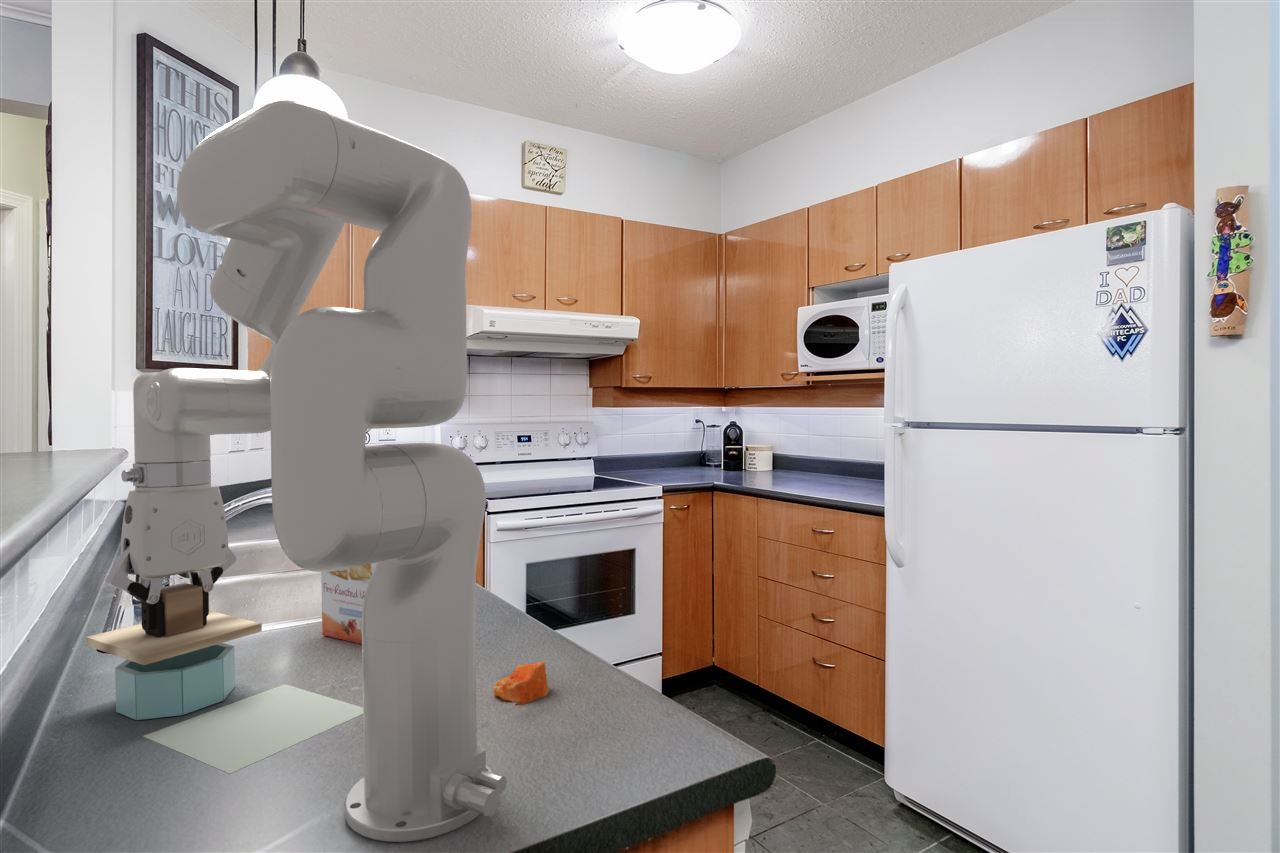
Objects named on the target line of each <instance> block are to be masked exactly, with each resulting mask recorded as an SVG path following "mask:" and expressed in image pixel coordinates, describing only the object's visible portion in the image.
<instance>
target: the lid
mask: <svg viewBox="0 0 1280 853" xmlns="http://www.w3.org/2000/svg"><path fill="white" fill-rule="evenodd" d="M160 602H163V603H164V619H165V634H164V636H162V637H155V636H151V635H148V634H146V633H145V630H143V628H142V623H138V624H134V625H130V626H126V627H122V628H118V629H113V630H109V631H105V632H101V633H96V634H91V635H89V636H86V637H85V646H87V647H90V648H92V649H95V650H98V651H101V652H104V653H107V654H110V655H113V656H115V657H119V658H122V659H125V660H130V661H133V662H136V663H139V664H142V665H146V664H150V663H153V662H157V661H160V660H164V659H167V658H171V657H174V656H178V655H181V654H185V653H188V652H192V651H195V650H199V649H202V648H206V647H209V646H213V645H216V644H220V643H227V642H229V641H234V640H236V639H240V638H244V637H246V636H250V635H255V634H258V633H261V632H262V631H263V628H262V626H263V624H262V623H261V622H257V621H253V620H248V619H245V618H241V617H237V616H234V615H233V616H232V615H228V614H224V613H220V612H216V611H212V610H209V614H208V616H207V624H206V625H204V626H203V592H202V587H201V586H197V585H192V584H191V583H188V582H182V583H177V584H172V585H168V586H162V587H161V592H160Z"/></svg>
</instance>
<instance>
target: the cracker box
mask: <svg viewBox="0 0 1280 853" xmlns="http://www.w3.org/2000/svg"><path fill="white" fill-rule="evenodd" d="M377 563H378V562H375V563H371V564H366V565H362V566H358V567H353V568H349V569H344V570H338V571H332V572H320V576H321V577H320V578H321V579H320V581H321V582H320V584H321V626H322V627H321V629H322V636H325V637H330V638H335V639H339V640H342V641H343V640H344V641H348V642H352V643H356V644H361V645H362V609H363V602H364V597H365V593H366V589H367V586H368V584H369V581H370V578H371V576H372V574H373V571H374V569H375V567H376V565H377Z"/></svg>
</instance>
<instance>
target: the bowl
mask: <svg viewBox="0 0 1280 853" xmlns="http://www.w3.org/2000/svg"><path fill="white" fill-rule="evenodd" d="M235 657H236V656H235V646H234V645H232V644H228V643H226V642H223V643H220V644H216V645H213V646H209V647H206V648H202V649H199V650H195V651H192V652H188V653H185V654H181V655H178V656H174V657H171V658H167V659H164V660H160V661H157V662H153V663H150V664H146V665H142V664H139V663H136V662H133V661H130V660H127V659H125V660H124V661H122V662H121V663H120V664H118V665H117V666H116V667H115V668H114V670H115V671H114V675H115V676H114V678H115V681H114V682H115V712H116V713H118V714H120V715H123V716H125V717H127V718H130V719H133V720H136V721H139V720H150V719H159V718H167V717H176V716H177V717H178V716H183V715H186V714H190V713H193V712H196V711H198V710H200V709H203V708H207V707H209V706H213V705H214V704H217V703H220V702H222V701H225V700H226V698H228V696H229V694H230V693H231V692H232V691H233V689H234V688H235V687H236V667H235V665H236V664H235V663H236V662H235V659H236V658H235Z"/></svg>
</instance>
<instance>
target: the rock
mask: <svg viewBox="0 0 1280 853" xmlns="http://www.w3.org/2000/svg"><path fill="white" fill-rule="evenodd" d="M549 692H550V690H549V685H548V680H547V673H546V662H545V661H538V662H534V663H529V664H525V663H524V664H519V665H517V666H515V667H514V671H513V672H512V673H511V674H510V675H507V677H504V678H503V677H502V678H501V679H499V680H497V681H496V682H495V683H494V687H493V694H494V696H496V697H499V698H500V699H501V700H504V701H505V702H506V701H507V702H512V703H515V702H517V703H515V704H514V705H515V706H523V705H526V704H528V703H529V702H530V703H531V702H533V701H534V700H536V699H540V698H543V697H546V696H548V694H549Z"/></svg>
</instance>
